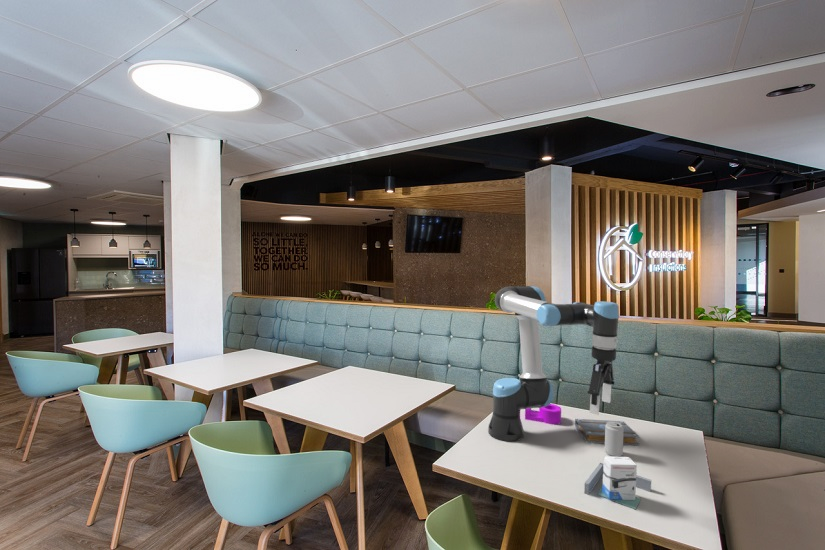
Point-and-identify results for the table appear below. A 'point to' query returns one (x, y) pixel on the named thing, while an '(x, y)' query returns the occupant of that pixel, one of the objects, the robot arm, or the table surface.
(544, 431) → the table surface
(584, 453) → the table surface
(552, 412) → the tape dispenser
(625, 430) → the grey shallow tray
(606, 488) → the ink box
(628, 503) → the mat
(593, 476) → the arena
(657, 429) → the table surface
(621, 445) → the beverage can
